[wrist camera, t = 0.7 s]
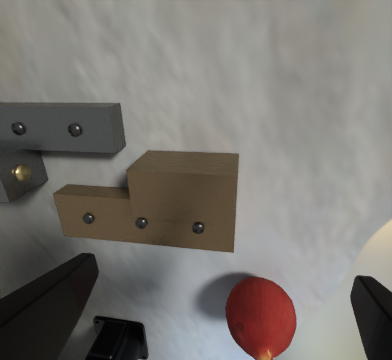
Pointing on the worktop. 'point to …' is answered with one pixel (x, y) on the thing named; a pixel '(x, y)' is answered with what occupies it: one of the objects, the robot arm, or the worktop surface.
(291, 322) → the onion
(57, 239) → the worktop surface
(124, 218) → the wooden block
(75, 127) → the leaf fixed
